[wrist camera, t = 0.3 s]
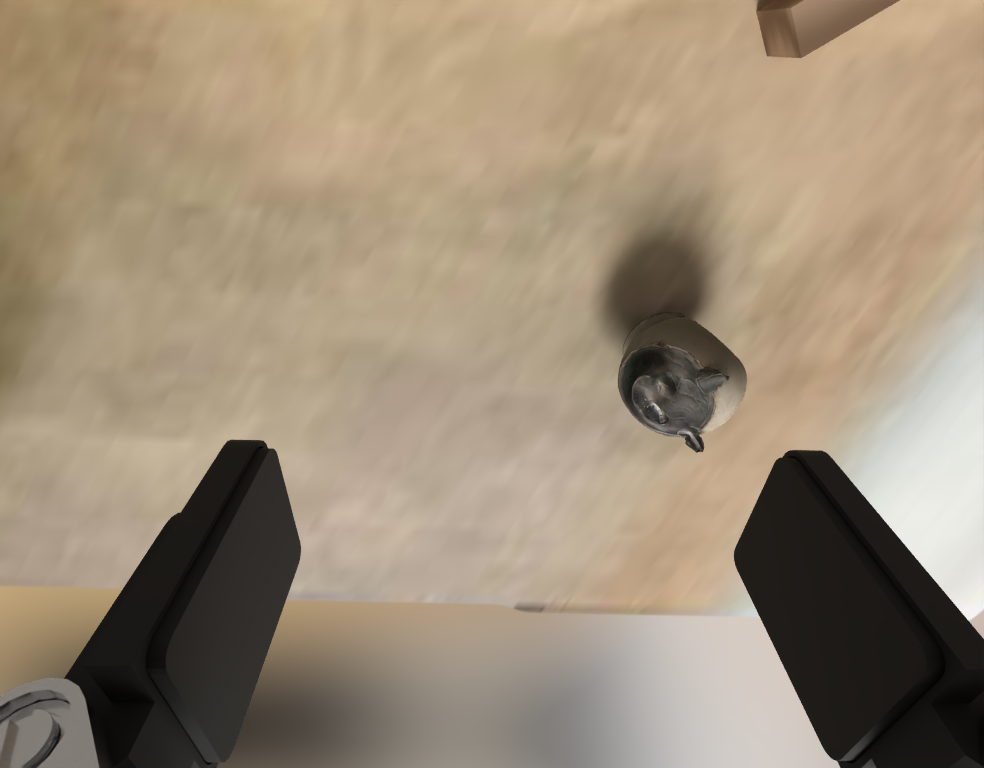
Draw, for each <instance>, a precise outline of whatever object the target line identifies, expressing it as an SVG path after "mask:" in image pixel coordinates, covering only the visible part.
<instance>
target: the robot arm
mask: <svg viewBox="0 0 984 768" xmlns="http://www.w3.org/2000/svg"><path fill="white" fill-rule="evenodd" d="M300 555H301V545H300V540H299V536H298V532H297V528H296V525H295V521H294V517H293V513H292V509H291V505H290V502H289V498H288V494H287V490H286V486H285V482H284V478H283V475H282V471H281V467H280V463H279V459H278V455H277V452H276V451H275V449H268V447H267V445H266V443H265V442H264V441H261V440H229V441H227V442H226V444H225V445H224V446H223V448H222V449H221V451H220V452H219V454H218V455H217V457H216V459H215V460H214V462H213V463H212V465H211V466H210V468H209V470H208V471H207V473H206V474H205V476H204V477H203V479H202V480H201V482H200V484H199V485H198V487H197V488H196V490H195V491H194V493H193V494H192V496H191V498H190V499H189V501H188V502H187V504H186V505H185V507H184V509H183V510H182V512H181V513H177V514H176V515H174V516H173V517H171V518H170V520H169V521H168V522H167V523H166V524H165V526H164V527H163V529H162V530H161V532H160V533H159V535H158V536H157V538H156V539H155V541H154V543H153V544H152V546H151V547H150V549H149V550H148V552H147V553H146V555H145V556H144V558H143V559H142V561H141V562H140V564H139V565H138V567H137V568H136V570H135V571H134V573H133V574H132V576H131V578H130V579H129V581H128V582H127V584H126V585H125V587H124V588H123V590H122V591H121V593H120V594H119V596H118V597H117V599H116V600H115V602H114V604H113V605H112V607H111V608H110V610H109V611H108V613H107V614H106V616H105V617H104V619H103V620H102V622H101V623H100V625H99V626H98V628H97V629H96V631H95V632H94V634H93V635H92V637H91V639H90V640H89V641H88V643H87V645H86V646H85V648H84V649H83V651H82V652H81V654H80V655H79V657H78V658H77V660H76V661H75V663H74V664H73V666H72V667H71V669H70V670H69V672H68V674H67V675H66V677H65V678H64V679H60V678H46V679H41V680H37V681H31V682H28V683H26V684H24V685H21V686H19V687H17V688H14V689H12V690H10V691H8V692H6V693H4V694H3V695H1V696H0V768H216V767H217V764H218V762H225V761H226V760H227V759H228V758H229V757H230V755H231V753H232V751H233V748H234V746H235V743H236V740H237V737H238V735H239V732H240V729H241V726H242V723H243V720H244V717H245V715H246V712H247V709H248V706H249V703H250V701H251V697H252V695H253V692H254V689H255V686H256V683H257V681H258V678H259V674H260V672H261V669H262V666H263V663H264V661H265V658H266V655H267V652H268V649H269V646H270V644H271V641H272V638H273V635H274V632H275V630H276V627H277V624H278V621H279V618H280V615H281V612H282V610H283V607H284V604H285V601H286V598H287V595H288V593H289V590H290V587H291V584H292V581H293V578H294V576H295V573H296V570H297V567H298V564H299V561H300ZM734 561H735V565H736V568H737V570H738V572H739V575H740V577H741V579H742V581H743V583H744V585H745V587H746V589H747V591H748V593H749V595H750V597H751V599H752V601H753V604H754V606H755V608H756V610H757V612H758V614H759V616H760V618H761V620H762V622H763V624H764V626H765V628H766V630H767V633H768V635H769V637H770V639H771V641H772V642H773V645H774V647H775V649H776V651H777V653H778V655H779V657H780V660H781V662H782V664H783V666H784V668H785V670H786V672H787V674H788V676H789V678H790V680H791V682H792V684H793V686H794V689H795V691H796V693H797V695H798V697H799V699H800V701H801V703H802V705H803V707H804V709H805V711H806V713H807V715H808V717H809V719H810V722H811V724H812V726H813V728H814V730H815V732H816V734H817V736H818V738H819V740H820V742H821V744H822V746H823V748H824V750H825V751H826V753H827V754H828V755H829V756H830V757H831V758H832V759H833V760H836V761H838V763H839V765H840V768H984V639H983V638H982V637H981V635H980V634H979V633H978V632H977V631H976V629H975V628H974V627H973V626H972V625H971V624H970V622H969V621H968V620H967V619H966V617H965V616H964V615H963V614H962V613H961V612H960V610H959V609H958V608H957V607H956V606H955V604H954V603H953V602H952V601H951V600H950V598H949V597H948V596H947V595H946V594H945V592H944V591H943V590H942V589H941V588H940V586H939V585H938V584H937V583H936V582H935V581H934V579H933V578H932V577H931V576H930V575H929V573H928V572H927V571H926V570H925V569H924V567H923V566H922V565H921V564H920V563H919V561H918V560H917V559H916V558H915V557H914V555H913V554H912V553H911V552H910V551H909V550H908V548H907V547H906V546H905V545H904V544H903V542H902V541H901V540H900V539H899V538H898V536H897V535H896V534H895V533H894V532H893V530H892V529H891V528H890V527H889V526H888V525H887V523H886V522H885V521H884V520H883V519H882V517H881V516H880V515H879V514H878V513H877V511H876V510H875V509H874V508H873V507H872V505H871V504H870V503H869V502H868V501H867V499H866V498H865V497H864V496H863V495H862V494H861V492H860V491H859V490H858V489H857V488H856V486H855V485H854V484H853V483H852V482H851V480H850V479H849V478H848V477H847V476H846V474H845V473H844V472H843V471H842V470H841V468H840V467H839V466H838V465H837V464H836V463H835V461H834V460H833V459H832V458H831V457H830V456H829V455H828V454H827V453H826V452H823V451H810V450H791V451H788V452H787V453H785V455H784V456H783V458H779V459H777V460H776V462H775V463H774V465H773V468H772V470H771V472H770V474H769V476H768V478H767V481H766V483H765V485H764V487H763V489H762V491H761V494H760V496H759V498H758V500H757V502H756V504H755V507H754V509H753V511H752V513H751V515H750V517H749V520H748V522H747V524H746V526H745V528H744V530H743V532H742V535H741V537H740V539H739V541H738V543H737V545H736V548H735V551H734Z"/></svg>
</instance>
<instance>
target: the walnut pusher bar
mask: <svg viewBox="0 0 984 768" xmlns="http://www.w3.org/2000/svg"><path fill="white" fill-rule="evenodd" d="M898 1H899V0H774V1H773V2H771V3H769V4H768V5H766V6H765V7H763V8H761V9H760V10H758V11H757V16H758V20H759V25H760V29H761V33H762V37H763V41H764V45H765V50H766V54H767V56H773V57H792V58H802V57H804V56H806V55H807V54H809V53H811V52H812V51H814V50H816V49H818V48H819V47H821V46H823V45H824V44H826V43H828V42H829V41H831V40H833V39H835V38H836V37H838V36H840V35H841V34H843V33H845V32H847V31H848V30H850V29H852V28H853V27H855V26H857V25H858V24H860V23H862V22H864V21H865V20H867V19H869V18H870V17H872V16H874V15H876V14H877V13H879V12H881V11H882V10H884V9H886V8H887V7H889V6H891V5H893V4H894V3H896V2H898Z"/></svg>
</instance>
